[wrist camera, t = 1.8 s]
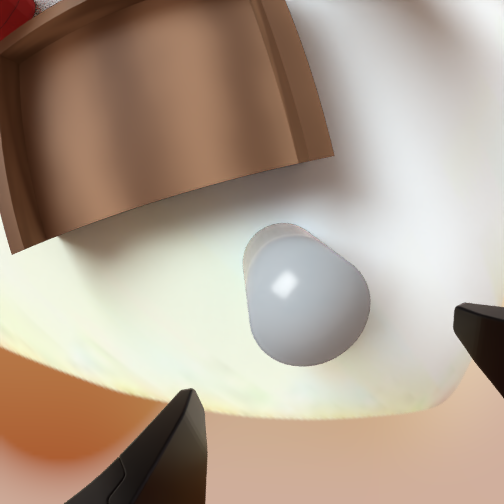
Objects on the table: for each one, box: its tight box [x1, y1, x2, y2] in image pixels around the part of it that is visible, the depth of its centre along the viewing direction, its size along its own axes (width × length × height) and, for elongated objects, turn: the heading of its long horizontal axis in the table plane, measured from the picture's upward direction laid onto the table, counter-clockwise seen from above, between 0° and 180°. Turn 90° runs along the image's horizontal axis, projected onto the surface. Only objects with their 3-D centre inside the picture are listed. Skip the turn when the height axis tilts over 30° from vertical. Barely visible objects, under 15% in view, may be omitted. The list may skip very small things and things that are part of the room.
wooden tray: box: [0, 0, 334, 255], centre depth 14 cm, size 18×14×6 cm
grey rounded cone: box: [243, 223, 370, 366], centre depth 16 cm, size 5×5×8 cm
